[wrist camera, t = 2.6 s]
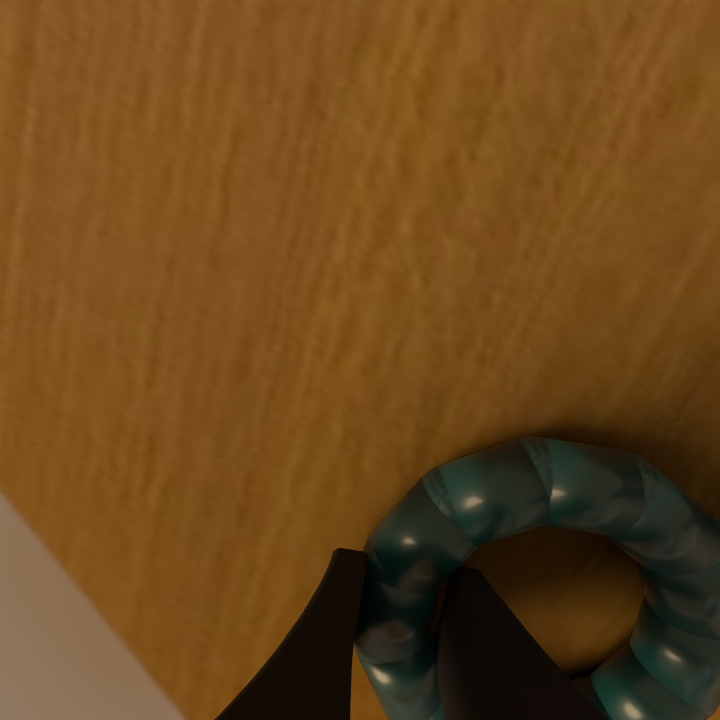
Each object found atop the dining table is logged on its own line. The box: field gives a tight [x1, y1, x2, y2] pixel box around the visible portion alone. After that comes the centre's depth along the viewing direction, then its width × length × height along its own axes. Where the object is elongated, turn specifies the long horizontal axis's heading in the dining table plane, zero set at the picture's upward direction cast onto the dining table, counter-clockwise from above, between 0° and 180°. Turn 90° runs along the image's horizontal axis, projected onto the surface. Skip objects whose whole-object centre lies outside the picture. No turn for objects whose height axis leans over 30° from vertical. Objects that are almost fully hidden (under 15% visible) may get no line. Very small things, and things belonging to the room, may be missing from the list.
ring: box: [354, 436, 720, 720], centre depth 10 cm, size 8×8×2 cm
